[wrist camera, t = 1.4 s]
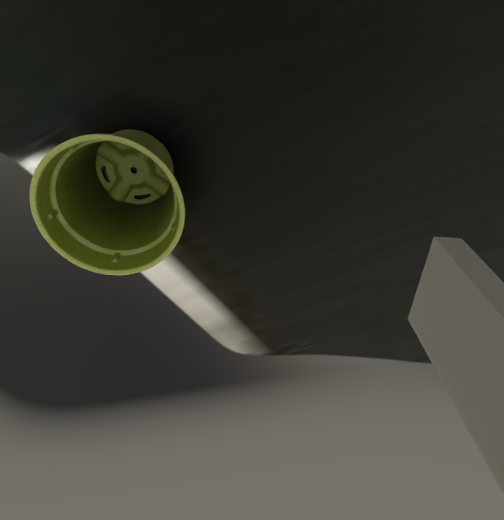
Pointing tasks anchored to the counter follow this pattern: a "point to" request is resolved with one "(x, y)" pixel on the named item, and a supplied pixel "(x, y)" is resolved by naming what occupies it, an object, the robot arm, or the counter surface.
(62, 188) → the plant pot
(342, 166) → the counter surface
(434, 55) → the counter surface
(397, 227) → the counter surface
